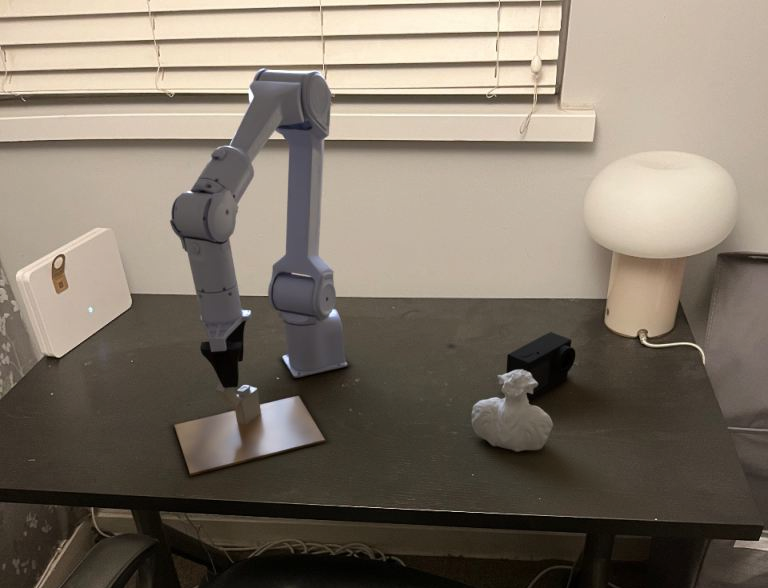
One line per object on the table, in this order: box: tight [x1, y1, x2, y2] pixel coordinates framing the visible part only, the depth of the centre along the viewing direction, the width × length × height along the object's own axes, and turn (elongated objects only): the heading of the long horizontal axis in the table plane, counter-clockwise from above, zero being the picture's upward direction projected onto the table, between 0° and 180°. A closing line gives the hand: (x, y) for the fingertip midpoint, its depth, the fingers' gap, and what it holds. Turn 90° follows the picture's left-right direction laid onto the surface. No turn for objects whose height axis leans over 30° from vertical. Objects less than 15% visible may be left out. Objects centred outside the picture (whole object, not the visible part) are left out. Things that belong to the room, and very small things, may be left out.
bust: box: [470, 369, 554, 453], centre depth 109 cm, size 12×8×11 cm, turn 62°
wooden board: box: [173, 395, 326, 477], centre depth 116 cm, size 20×14×1 cm
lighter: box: [215, 381, 261, 425], centre depth 115 cm, size 7×2×8 cm, turn 150°
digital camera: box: [505, 331, 576, 401], centre depth 120 cm, size 10×5×7 cm, turn 132°
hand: (233, 373), depth 113 cm, fingers open, 7 cm apart
